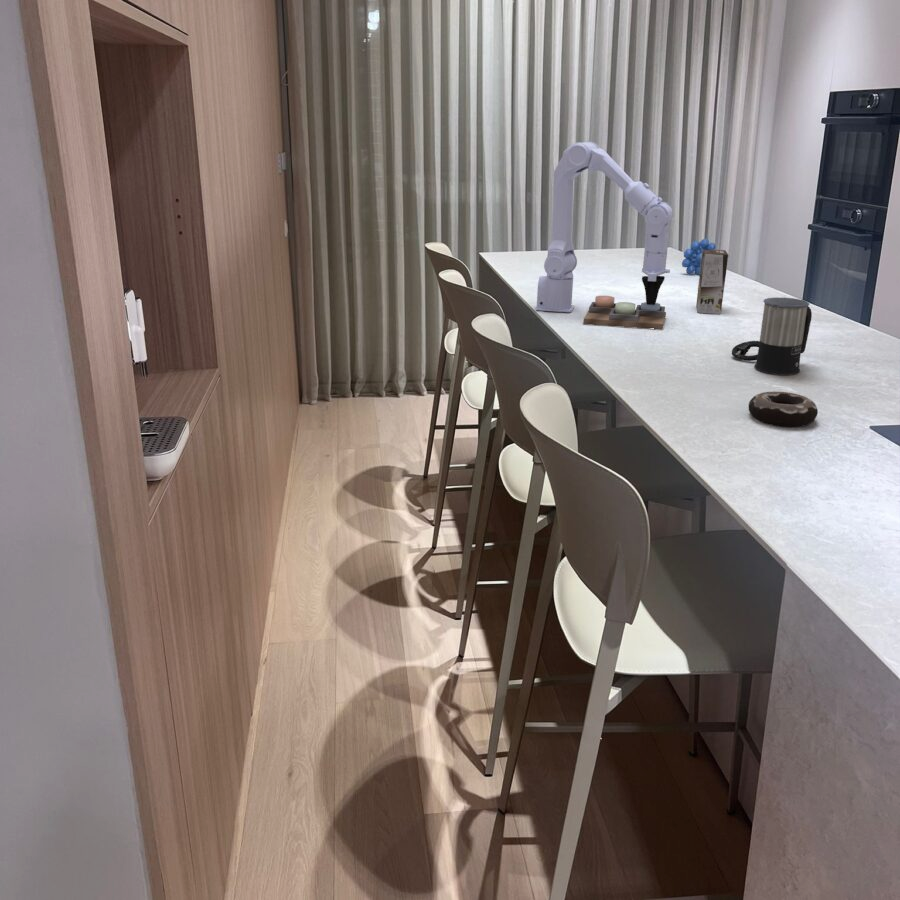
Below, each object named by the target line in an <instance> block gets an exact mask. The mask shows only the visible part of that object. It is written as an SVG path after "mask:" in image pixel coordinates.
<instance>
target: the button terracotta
mask: <svg viewBox="0 0 900 900" xmlns="http://www.w3.org/2000/svg"><path fill="white" fill-rule="evenodd" d="M594 302H595V307H605V308H613V307H614V303H615V297H614V296H612V295H596V296H595V300H594Z"/></svg>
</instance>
